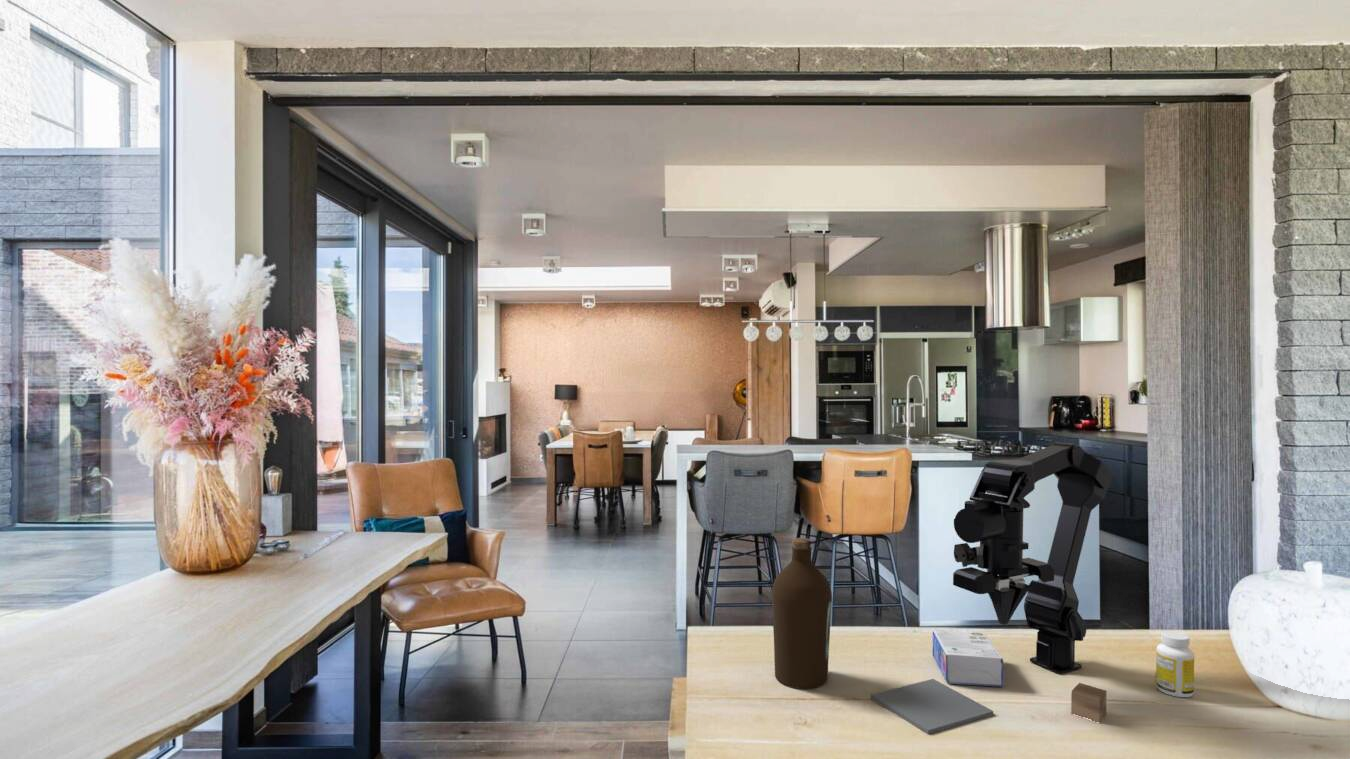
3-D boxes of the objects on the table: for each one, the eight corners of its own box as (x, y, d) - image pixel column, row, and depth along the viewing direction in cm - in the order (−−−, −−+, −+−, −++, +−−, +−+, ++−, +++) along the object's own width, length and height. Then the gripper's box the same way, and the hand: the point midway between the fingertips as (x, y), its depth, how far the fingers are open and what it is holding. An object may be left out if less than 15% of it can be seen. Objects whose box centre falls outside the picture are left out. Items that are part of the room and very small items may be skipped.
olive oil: (776, 691, 126) (777, 548, 125) (767, 665, 136) (767, 532, 136) (838, 690, 126) (839, 547, 125) (823, 664, 137) (824, 532, 136)
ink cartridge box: (1004, 689, 127) (982, 653, 141) (1005, 658, 127) (983, 626, 141) (944, 685, 128) (928, 650, 143) (945, 654, 128) (929, 622, 142)
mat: (933, 682, 129) (933, 678, 129) (993, 714, 118) (993, 711, 118) (870, 698, 123) (870, 694, 123) (927, 734, 112) (927, 730, 112)
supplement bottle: (1189, 687, 127) (1191, 632, 127) (1197, 701, 122) (1198, 643, 122) (1153, 681, 129) (1154, 627, 129) (1158, 694, 125) (1159, 638, 124)
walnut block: (1078, 706, 121) (1079, 682, 120) (1106, 715, 118) (1106, 690, 118) (1071, 714, 118) (1071, 690, 118) (1098, 723, 115) (1099, 698, 115)
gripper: (1004, 520, 138) (1002, 602, 138) (929, 530, 130) (928, 616, 130) (1057, 533, 128) (1055, 621, 128) (980, 545, 120) (978, 638, 120)
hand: (1003, 623), depth 127 cm, fingers closed
